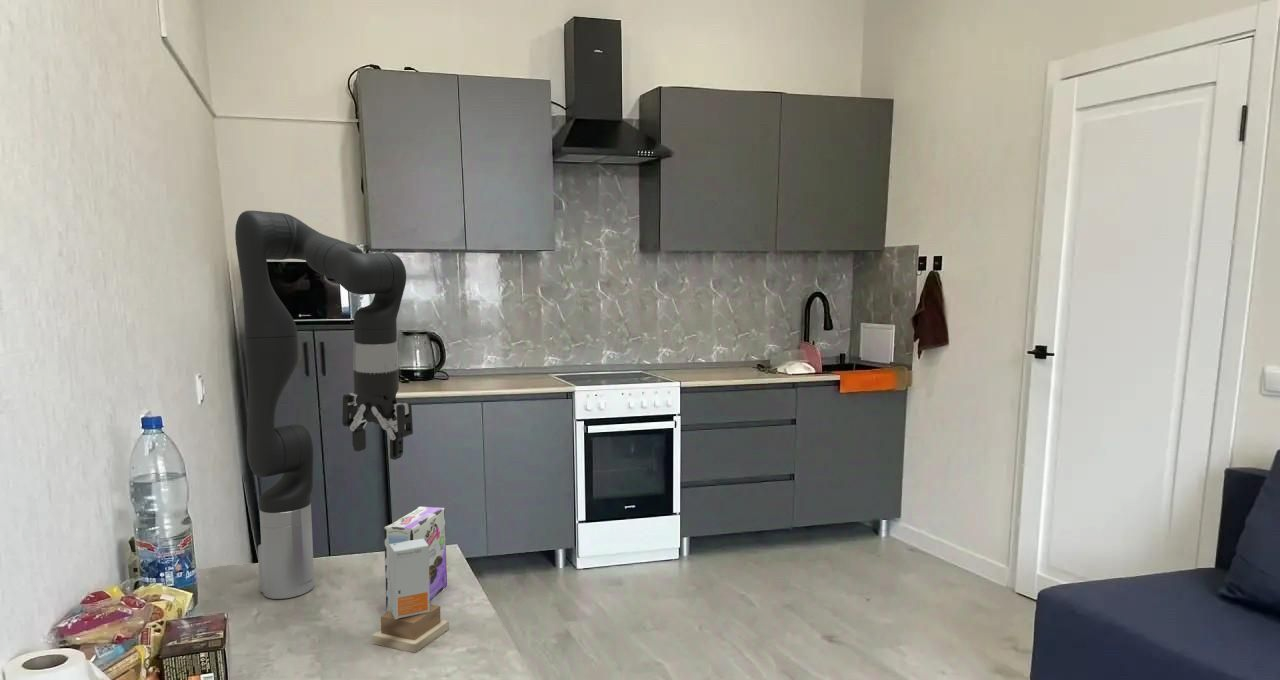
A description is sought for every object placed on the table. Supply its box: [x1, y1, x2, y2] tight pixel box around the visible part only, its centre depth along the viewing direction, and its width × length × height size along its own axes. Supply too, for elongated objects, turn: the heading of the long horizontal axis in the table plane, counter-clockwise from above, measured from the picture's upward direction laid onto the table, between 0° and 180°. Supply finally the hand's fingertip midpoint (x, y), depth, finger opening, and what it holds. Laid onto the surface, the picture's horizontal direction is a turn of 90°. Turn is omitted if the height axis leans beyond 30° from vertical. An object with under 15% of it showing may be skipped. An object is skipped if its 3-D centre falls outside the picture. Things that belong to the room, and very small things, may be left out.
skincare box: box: [389, 539, 431, 619], centre depth 125 cm, size 6×4×12 cm
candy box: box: [383, 506, 448, 613], centre depth 141 cm, size 14×6×16 cm, turn 168°
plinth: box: [371, 603, 450, 654], centre depth 126 cm, size 9×9×4 cm
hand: (377, 454), depth 130 cm, fingers open, 8 cm apart
